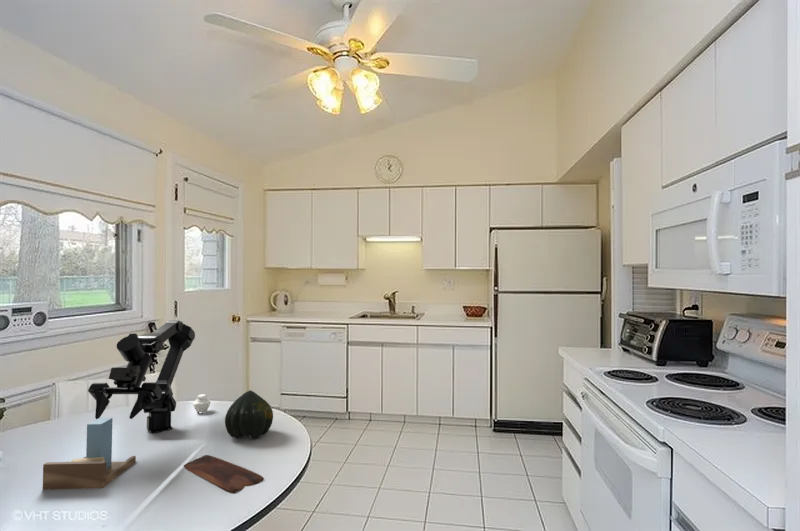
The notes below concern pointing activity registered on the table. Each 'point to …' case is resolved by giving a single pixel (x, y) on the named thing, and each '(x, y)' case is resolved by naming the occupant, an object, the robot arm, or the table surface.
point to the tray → (82, 474)
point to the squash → (249, 416)
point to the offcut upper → (88, 459)
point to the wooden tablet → (223, 473)
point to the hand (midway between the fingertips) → (113, 418)
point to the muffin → (201, 403)
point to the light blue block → (100, 440)
